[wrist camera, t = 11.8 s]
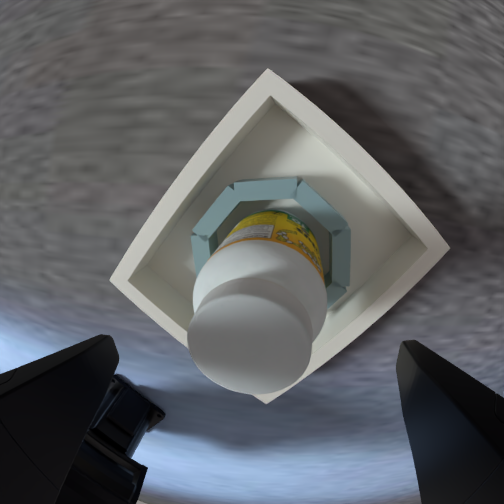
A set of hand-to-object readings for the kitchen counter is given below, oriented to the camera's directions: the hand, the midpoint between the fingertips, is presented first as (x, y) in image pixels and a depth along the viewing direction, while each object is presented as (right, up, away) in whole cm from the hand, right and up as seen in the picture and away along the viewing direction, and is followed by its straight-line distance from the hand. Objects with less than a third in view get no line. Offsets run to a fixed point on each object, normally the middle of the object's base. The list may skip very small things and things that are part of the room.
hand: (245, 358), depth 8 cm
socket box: (+2, +3, +10) cm, 11 cm away
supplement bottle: (+1, +3, +10) cm, 11 cm away
